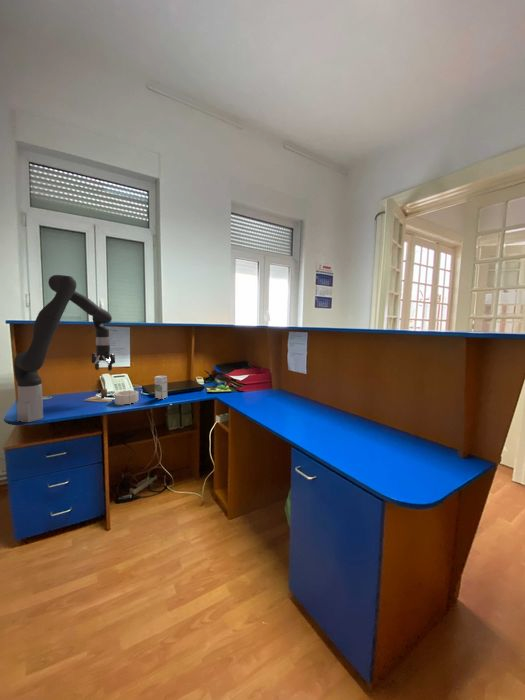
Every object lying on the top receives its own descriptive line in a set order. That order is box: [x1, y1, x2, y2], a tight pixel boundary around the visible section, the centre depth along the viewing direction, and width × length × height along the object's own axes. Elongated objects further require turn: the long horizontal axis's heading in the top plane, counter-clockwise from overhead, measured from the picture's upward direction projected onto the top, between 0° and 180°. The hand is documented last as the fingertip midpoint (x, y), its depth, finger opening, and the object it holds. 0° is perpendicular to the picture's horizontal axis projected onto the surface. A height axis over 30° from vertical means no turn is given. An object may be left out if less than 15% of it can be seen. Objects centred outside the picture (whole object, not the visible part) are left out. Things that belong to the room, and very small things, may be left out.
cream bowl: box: [113, 389, 140, 406], centre depth 178 cm, size 13×13×6 cm
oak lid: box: [82, 388, 114, 404], centre depth 184 cm, size 16×16×6 cm
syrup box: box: [154, 375, 168, 400], centre depth 187 cm, size 6×6×14 cm
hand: (103, 370), depth 183 cm, fingers open, 8 cm apart
